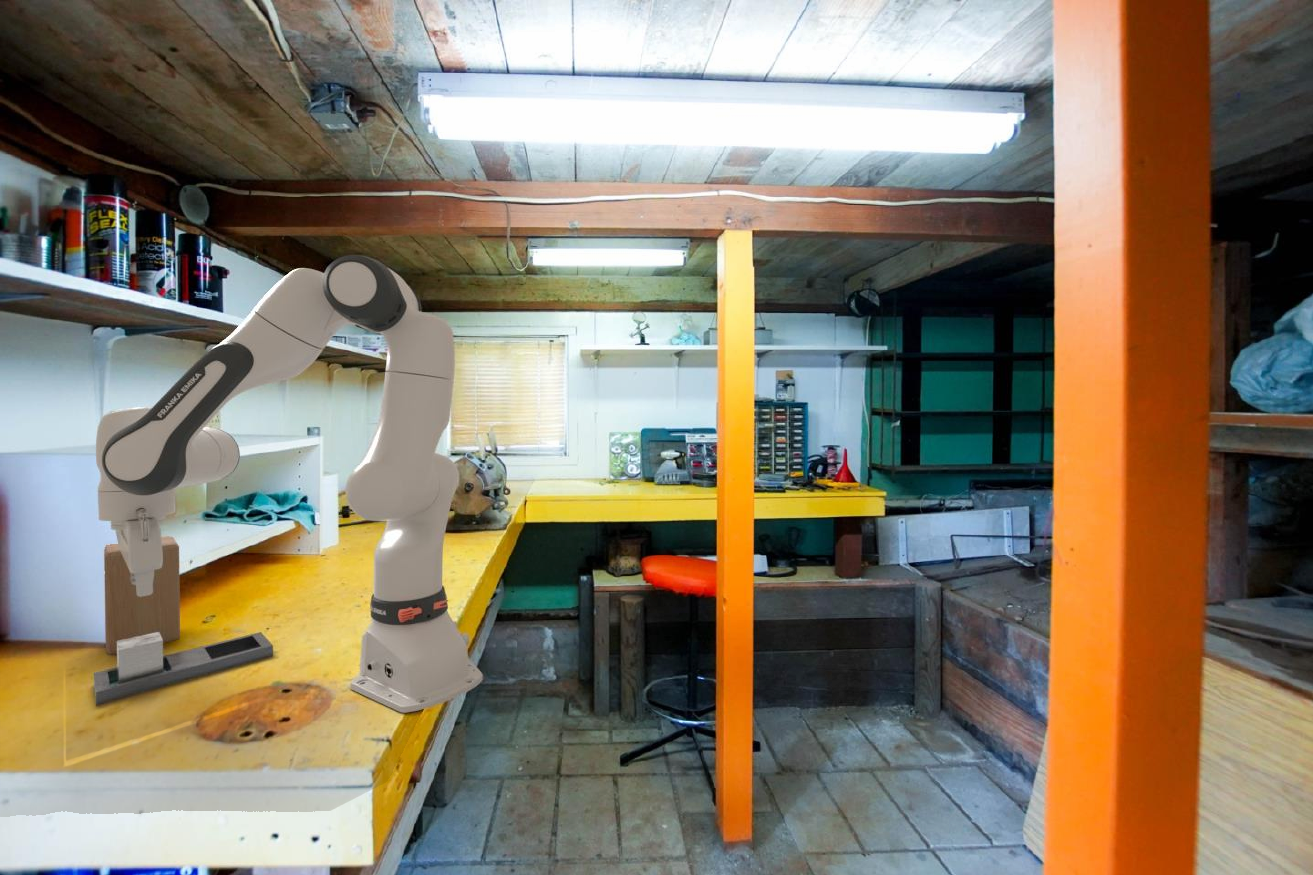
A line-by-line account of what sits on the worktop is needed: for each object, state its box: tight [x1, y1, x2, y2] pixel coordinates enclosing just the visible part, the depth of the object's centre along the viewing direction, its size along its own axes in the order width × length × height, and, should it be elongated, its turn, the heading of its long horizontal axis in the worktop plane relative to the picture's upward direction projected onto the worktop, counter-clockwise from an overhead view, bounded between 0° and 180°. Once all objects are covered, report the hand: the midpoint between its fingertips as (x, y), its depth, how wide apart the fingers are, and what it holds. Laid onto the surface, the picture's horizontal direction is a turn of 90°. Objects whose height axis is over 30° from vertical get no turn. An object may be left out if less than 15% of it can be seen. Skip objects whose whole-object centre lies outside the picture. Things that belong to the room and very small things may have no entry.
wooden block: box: [103, 535, 181, 655], centre depth 99 cm, size 10×10×20 cm
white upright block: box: [116, 632, 164, 684], centre depth 83 cm, size 5×5×7 cm
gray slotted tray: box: [93, 631, 274, 706], centre depth 88 cm, size 9×22×3 cm, turn 140°
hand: (141, 589), depth 83 cm, fingers open, 8 cm apart
